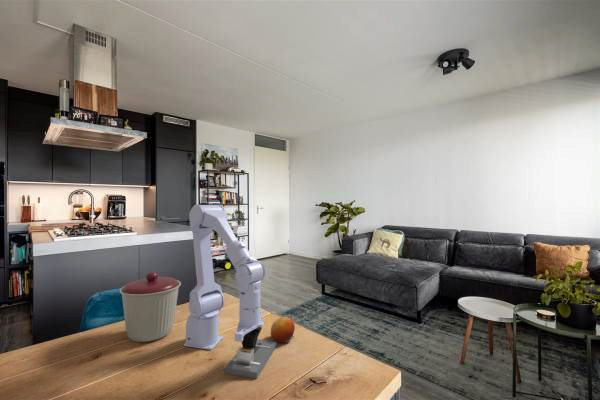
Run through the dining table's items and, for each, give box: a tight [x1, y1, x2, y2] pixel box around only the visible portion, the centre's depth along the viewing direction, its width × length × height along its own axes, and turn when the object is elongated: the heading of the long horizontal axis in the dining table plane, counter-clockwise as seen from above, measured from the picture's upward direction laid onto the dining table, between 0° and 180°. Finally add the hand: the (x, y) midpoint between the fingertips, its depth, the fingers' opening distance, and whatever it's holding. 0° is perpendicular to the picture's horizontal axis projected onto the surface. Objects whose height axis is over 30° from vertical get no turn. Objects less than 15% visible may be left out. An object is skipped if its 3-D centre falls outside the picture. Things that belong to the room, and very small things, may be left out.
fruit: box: [270, 316, 296, 344], centre depth 89 cm, size 8×8×8 cm
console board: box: [224, 338, 277, 380], centre depth 77 cm, size 9×16×2 cm, turn 167°
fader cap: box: [235, 346, 254, 366], centre depth 72 cm, size 4×2×4 cm, turn 77°
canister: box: [119, 271, 182, 343], centre depth 91 cm, size 18×18×21 cm
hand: (249, 355), depth 75 cm, fingers closed
